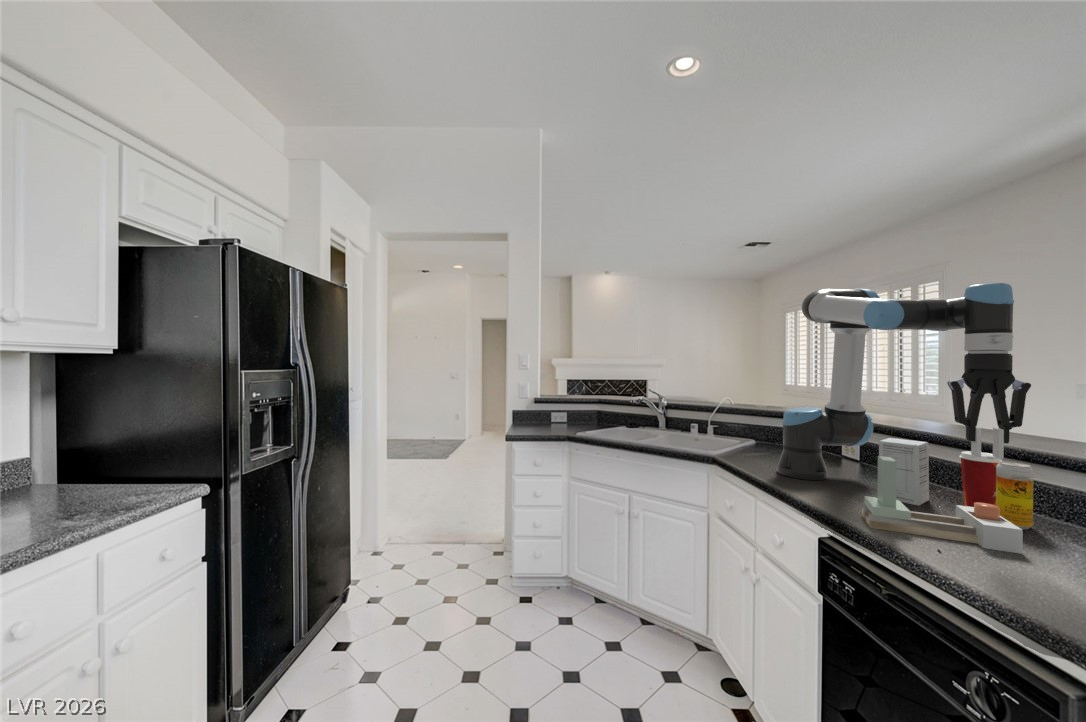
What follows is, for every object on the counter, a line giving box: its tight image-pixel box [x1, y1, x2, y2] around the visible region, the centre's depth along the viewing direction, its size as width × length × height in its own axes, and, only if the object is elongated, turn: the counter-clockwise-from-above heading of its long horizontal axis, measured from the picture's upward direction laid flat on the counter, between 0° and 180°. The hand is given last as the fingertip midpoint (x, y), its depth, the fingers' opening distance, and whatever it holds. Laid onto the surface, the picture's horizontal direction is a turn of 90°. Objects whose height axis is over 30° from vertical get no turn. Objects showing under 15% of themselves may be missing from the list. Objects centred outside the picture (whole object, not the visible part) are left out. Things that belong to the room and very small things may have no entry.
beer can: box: [996, 461, 1034, 530], centre depth 104 cm, size 6×6×15 cm
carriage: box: [864, 455, 911, 520], centre depth 104 cm, size 9×7×13 cm
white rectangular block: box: [955, 504, 1024, 554], centre depth 96 cm, size 14×6×5 cm, turn 154°
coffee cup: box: [959, 450, 1004, 507], centre depth 116 cm, size 8×8×15 cm
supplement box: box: [878, 437, 930, 507], centre depth 124 cm, size 10×9×17 cm
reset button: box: [974, 502, 1000, 521], centre depth 96 cm, size 4×4×4 cm
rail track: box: [861, 504, 979, 545], centre depth 101 cm, size 9×19×3 cm, turn 64°
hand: (986, 456), depth 96 cm, fingers open, 3 cm apart
